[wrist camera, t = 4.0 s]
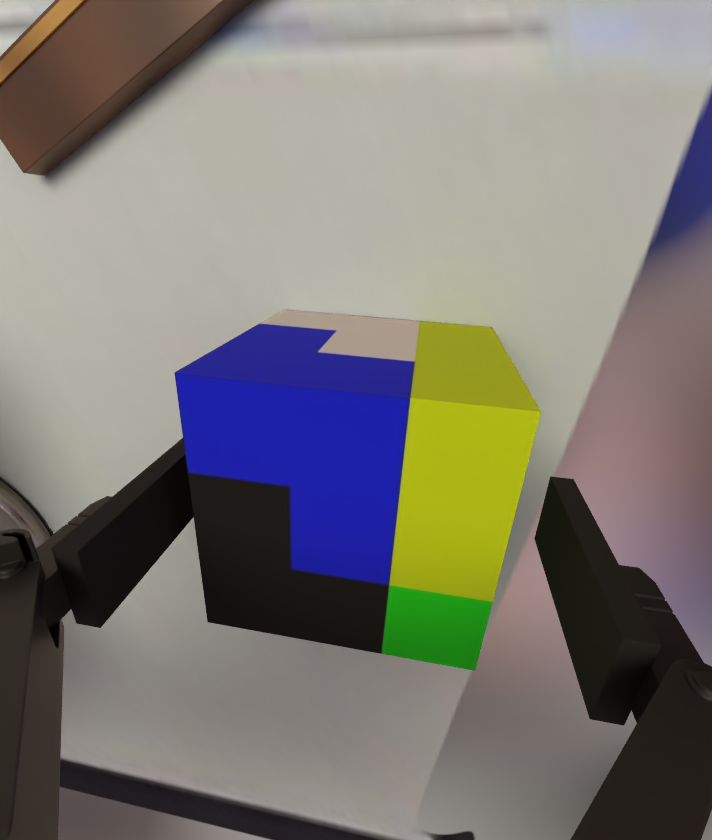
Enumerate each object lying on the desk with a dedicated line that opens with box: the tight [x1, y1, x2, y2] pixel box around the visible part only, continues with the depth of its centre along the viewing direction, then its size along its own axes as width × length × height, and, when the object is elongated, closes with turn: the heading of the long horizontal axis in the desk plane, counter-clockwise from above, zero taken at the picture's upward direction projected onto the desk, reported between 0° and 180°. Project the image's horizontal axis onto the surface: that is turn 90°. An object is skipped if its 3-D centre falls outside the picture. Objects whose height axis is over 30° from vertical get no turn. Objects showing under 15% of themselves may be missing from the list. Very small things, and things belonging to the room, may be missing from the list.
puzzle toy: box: [175, 310, 541, 670], centre depth 18 cm, size 10×10×10 cm
